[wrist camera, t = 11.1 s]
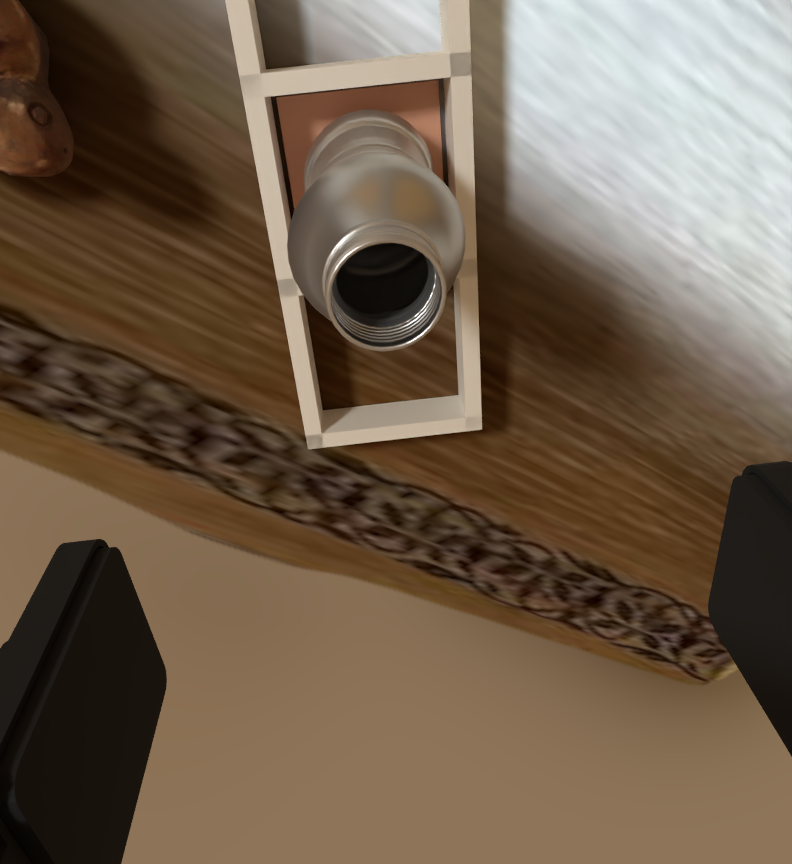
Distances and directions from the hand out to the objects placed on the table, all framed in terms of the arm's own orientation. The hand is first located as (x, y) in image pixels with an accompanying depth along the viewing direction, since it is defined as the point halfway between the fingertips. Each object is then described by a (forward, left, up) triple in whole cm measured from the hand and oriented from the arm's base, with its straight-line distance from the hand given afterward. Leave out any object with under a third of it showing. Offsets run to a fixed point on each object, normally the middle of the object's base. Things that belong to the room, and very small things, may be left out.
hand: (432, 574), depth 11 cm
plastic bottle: (0, 0, -32) cm, 32 cm away
